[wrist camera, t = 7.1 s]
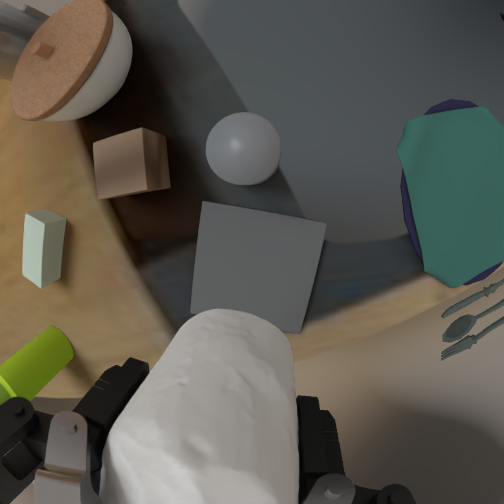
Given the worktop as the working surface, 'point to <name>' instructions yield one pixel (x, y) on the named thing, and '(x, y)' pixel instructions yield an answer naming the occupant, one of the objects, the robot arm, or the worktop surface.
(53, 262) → the sage bar
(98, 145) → the walnut cube
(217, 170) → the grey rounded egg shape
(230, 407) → the white tall lump
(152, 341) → the worktop surface
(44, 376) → the soap dispenser
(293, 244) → the mat
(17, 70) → the lidded bowl
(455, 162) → the teal place setting
